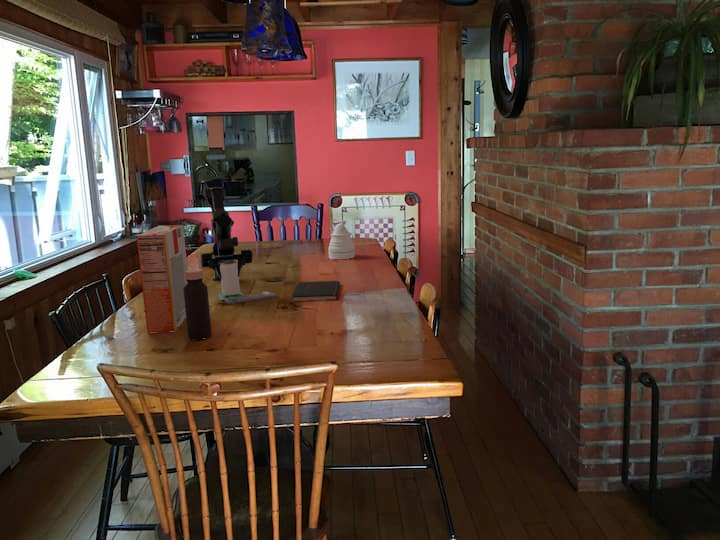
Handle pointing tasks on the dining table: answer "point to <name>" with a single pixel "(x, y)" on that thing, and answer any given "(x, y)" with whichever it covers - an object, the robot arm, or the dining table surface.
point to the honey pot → (341, 243)
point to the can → (229, 278)
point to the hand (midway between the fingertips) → (229, 277)
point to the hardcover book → (316, 290)
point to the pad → (222, 297)
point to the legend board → (249, 297)
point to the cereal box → (163, 276)
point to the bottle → (197, 305)
